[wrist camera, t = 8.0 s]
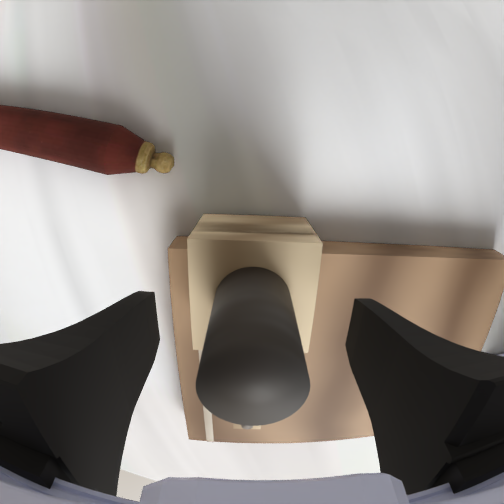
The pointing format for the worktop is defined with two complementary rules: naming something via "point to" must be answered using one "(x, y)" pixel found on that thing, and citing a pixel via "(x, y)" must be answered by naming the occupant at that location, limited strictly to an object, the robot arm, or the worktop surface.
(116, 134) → the gavel
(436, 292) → the board
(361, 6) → the worktop surface
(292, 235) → the rubber stamp
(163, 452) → the worktop surface
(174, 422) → the worktop surface
